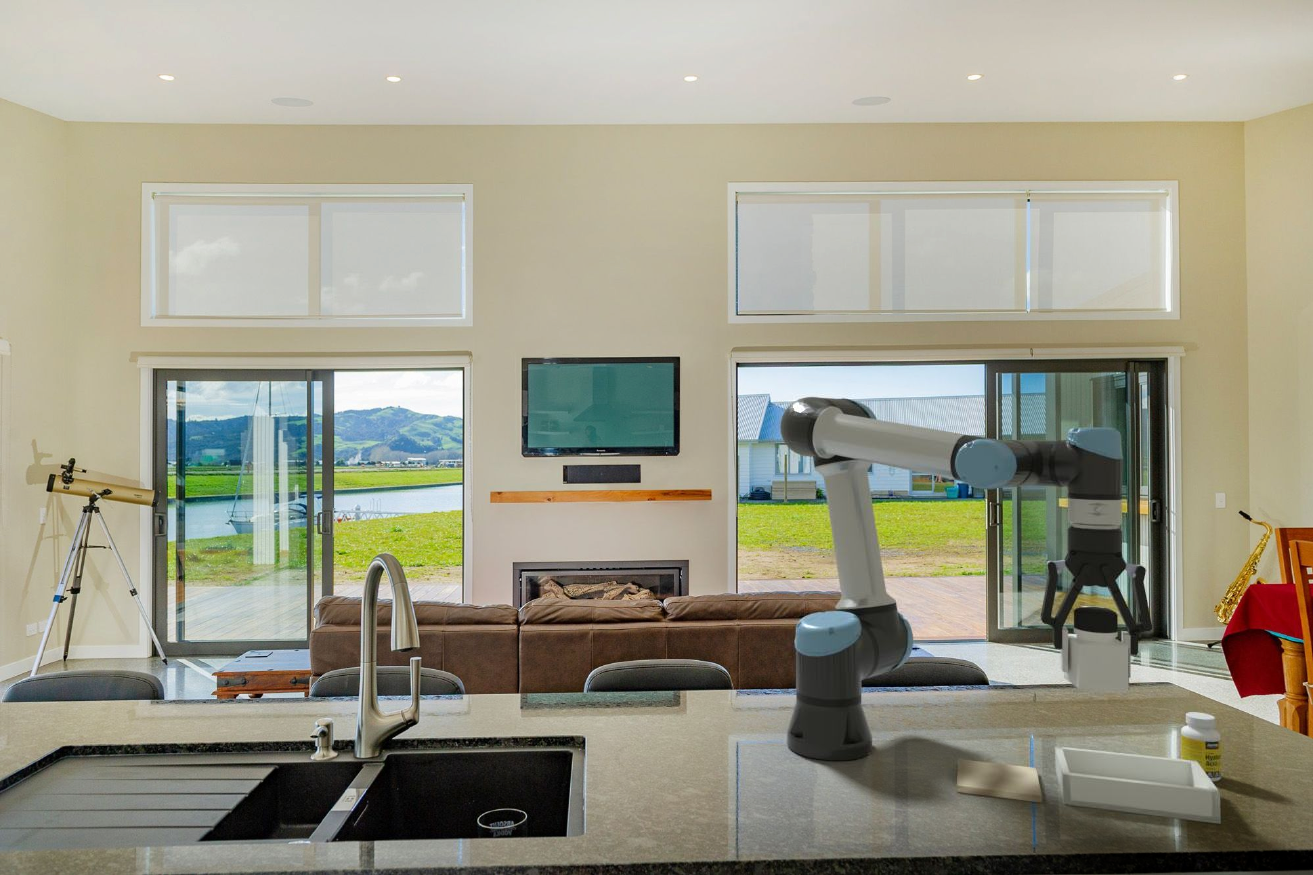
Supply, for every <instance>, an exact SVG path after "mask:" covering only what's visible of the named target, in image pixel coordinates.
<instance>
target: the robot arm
mask: <svg viewBox="0 0 1313 875" xmlns="http://www.w3.org/2000/svg"><path fill="white" fill-rule="evenodd" d="M779 428H780V435H781V438H782V440H783V442H784V444H785V445H786V447H787V448H789V450H791V451H792V452H793V453H795V454H797V455H800V456H802V457H803V456H804V457H811V458H812V461H813V466H814V468H813V469H814V471H816V473H818V474H820V475H821V476H822V478H823V482H824V488H825V489H824V491H825V495H826V501H827V510H828V516H829V523H830V528H831V535H832V541H833V542H832V544H833V551H834V555H835V556H834V557H835V561H836V568H837V574H838V582H839V588H840V596H841V597H840V599H839V601H838V602H837V604H836V605H835V608H834V610H827V611H824V612H821V611H818V612H814V613H811V614H808V615H805V616H804V617H802V618H801V619H799V621H797V623H796V626H795V638H794V641H793V642H794V649H795V690H796V691H795V692H796V693H795V694H796V699H795V700H796V701H795V705H794V708H793V712H792V714H791V718H790V721H789V724H788V728H787V733H786V739H787V740H786V743H787V747H788V748H789V749H790V750H791V751H792V752H794V753H796V754H798V755H800V756H801V755H802V756H804V757H807V758H812V759H817V760H823V761H824V760H825V761H851V760H856V759H862V758H864V757H866V756H868V755H870V754H871V753H872V751H873V734H872V731H871V728H870V726H869V723H868V720H867V717H866V715H865V711H864V708H863V702H862V701H863V700H862V681H864V680H866V679H869V678H873V677H876V676H880V675H886V674H889V673H891V672H893V671H894V670H896V669H898V668H900V667H901V666H903V665H904V664H905V663H906V662H907V660H908V659H909V658H910V656H911V654H912V651H913V647H914V633H913V630H912V627H911V624H910V622H909V620H907V619H906V618H904V615H903V614H902V613H901V612H899V611H898V605H897V601H896V599H895V598H893V597H892V596H891V595H890V594H888V592H887V588H886V582H885V575H884V570H883V563H882V556H881V550H880V544H879V537H878V532H877V531H878V530H877V525H876V524H877V523H876V518H875V513H874V506H873V500H872V494H871V493H872V492H871V487H870V482H869V474H868V470H869V468H870V467H871V465H872V464H873V463H874V464H877V465H878V464H879V465H884V466H887V467H893V468H897V469H902V470H906V471H912V472H916V473H921V474H925V475H930V476H936V477H940V478H945V479H950V480H955V481H958V482H959V481H960V482H963V483H965V484H966V485H968V486H969V487H972V488H977V489H982V490H983V489H984V490H996V489H1000V488H1001V489H1002V488H1017V487H1018V488H1019V487H1020V488H1021V487H1058V488H1067V522H1068V523H1070V524H1071V526H1068V528H1067V553H1066V556H1065V558H1064V559H1061V560H1051V559H1050V560H1046V562H1045V565H1046V570H1047V580H1046V585H1045V590H1044V596H1043V601H1042V606H1041V613H1040V620H1041V622H1042V623H1043V624H1044V625H1047V626H1048V625H1049V626H1050V627H1052V644H1053V646H1054V649H1057V650H1060V669H1061V671H1062V673H1064V672H1068V634H1069V630H1068V628H1067V627H1066V626H1064V624H1065V623H1066V621H1067V619H1068V617H1069V615H1070V612H1071V611H1072V609H1073V607H1074V605H1075V603H1076V600H1077V599H1078V596H1079V595H1080V593H1081V591H1082V590H1083V588H1084V587H1094V586H1096V587H1100V588H1107V589H1108V591H1109V593H1110V596H1111V598H1112V599H1113V602H1114V604H1115V606H1116V609H1117V610H1118V612H1119V614H1120V617H1121V618H1122V619H1121V620H1123V623H1124V624H1125V627H1126V629H1127V631H1124V630H1121V642H1122V643H1124V644H1126V645H1128V646H1129V679H1131V674H1132V673H1131V672H1132V671H1131V663H1132V662H1131V658H1132V657H1131V656H1137V655H1138V654H1139V635H1140V634H1141V633H1144V632H1151V631H1152V630H1153V624H1152V619H1151V618H1152V617H1151V614H1150V608H1149V603H1148V598H1147V593H1146V587H1145V582H1144V581H1145V578H1146V573H1147V569H1146V567H1145V566H1143V565H1141V564H1134V563H1133V564H1132V563H1129V562H1126V560H1125V559H1124V556H1123V530H1121V528H1119V526H1121V525H1123V500H1122V499H1123V493H1122V492H1123V491H1122V489H1123V459H1124V455H1123V448H1122V435H1121V433H1120V431H1119V430H1118V429H1117V428H1114V427H1071V428H1070V429H1069V430H1068V431H1067V436H1066V439H1062V440H1041V439H1040V440H1036V439H1035V440H1033V439H1032V440H1025V439H1021V440H1020V439H997V438H996V439H995V438H989V437H983V436H977V435H969V434H963V433H957V432H952V431H945V430H939V429H936V428H935V429H934V428H929V427H923V426H916V425H911V424H905V423H900V422H893V421H892V422H891V421H887V420H881V419H878V418H877V416H876V414H875V413H874V412H873V410H872V409H871V408H870V407H868V406H867V405H866V404H864V403H862V402H861V401H857V400H853V399H849V398H832V397H831V398H830V397H817V396H805V397H803V398H799V399H797V400H795V401H794V402H792V403H790V405H788V407H787V408H786V409H785V410H784V413H783V414H782V416H781V420H780V426H779ZM1065 568H1067V570H1068V571H1069V572H1070V574H1071V575H1072V576H1073V578H1072V580H1071V582H1070V585H1069V586H1068V587H1069V588H1068V589H1067V592H1066V593H1065V595H1064V597H1063V599H1062V601H1061V603H1060V606H1059V607H1058V609H1057V611H1056V614H1055V616H1054V617H1053V616H1052V614H1053V609H1054V602H1055V598H1056V593H1057V586H1058V581H1059V575H1061V574H1062V573H1063V569H1065ZM1124 571H1126V572H1127V575H1128V577H1129V578H1131V583H1132V590H1133V595H1134V601H1135V606H1136V611H1137V615H1138V616H1137V617H1138V621H1139V622H1136V621H1135V619H1134V616H1132V615H1133V614H1132V613H1131V611H1130V609H1129V606H1128V604H1127V601H1126V600H1125V598H1124V595H1123V594H1122V591H1121V589H1120V586H1119V585H1118V582H1117V579H1118V578H1119V577H1120V576H1121V575H1122V573H1123V572H1124Z"/></svg>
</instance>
